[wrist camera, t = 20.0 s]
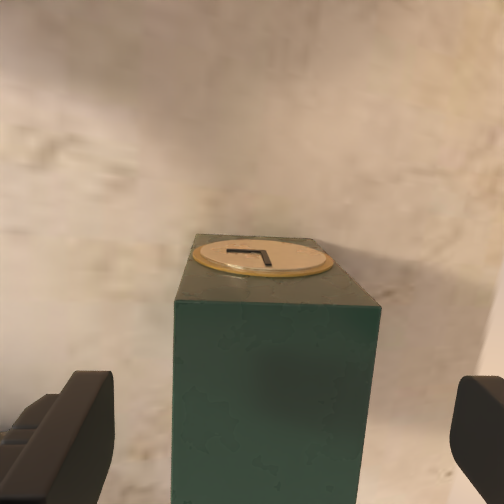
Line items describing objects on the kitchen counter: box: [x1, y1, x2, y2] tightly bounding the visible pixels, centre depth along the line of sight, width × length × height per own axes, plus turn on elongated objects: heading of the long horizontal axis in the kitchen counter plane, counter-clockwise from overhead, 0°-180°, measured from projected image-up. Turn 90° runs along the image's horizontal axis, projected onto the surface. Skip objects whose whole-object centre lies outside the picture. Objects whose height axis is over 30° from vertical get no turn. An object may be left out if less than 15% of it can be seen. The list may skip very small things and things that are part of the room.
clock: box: [171, 234, 382, 504], centre depth 18 cm, size 10×6×8 cm
